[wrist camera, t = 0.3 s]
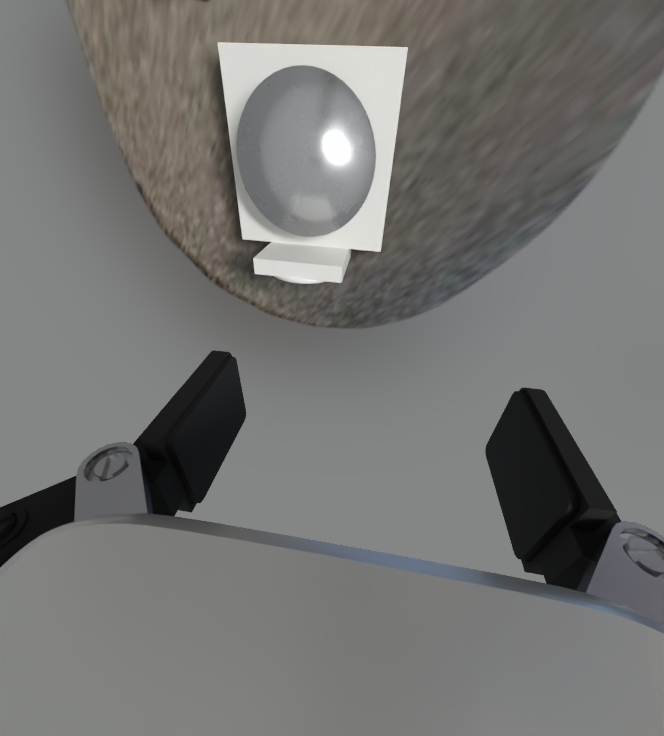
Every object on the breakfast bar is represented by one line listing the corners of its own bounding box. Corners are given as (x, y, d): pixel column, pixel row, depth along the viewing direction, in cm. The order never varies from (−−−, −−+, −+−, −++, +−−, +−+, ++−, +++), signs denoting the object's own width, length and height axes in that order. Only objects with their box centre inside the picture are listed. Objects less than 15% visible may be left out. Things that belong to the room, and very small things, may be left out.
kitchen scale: (229, 48, 28) (176, 21, 21) (406, 53, 27) (411, 25, 20) (252, 252, 39) (222, 277, 32) (378, 264, 38) (375, 293, 31)
